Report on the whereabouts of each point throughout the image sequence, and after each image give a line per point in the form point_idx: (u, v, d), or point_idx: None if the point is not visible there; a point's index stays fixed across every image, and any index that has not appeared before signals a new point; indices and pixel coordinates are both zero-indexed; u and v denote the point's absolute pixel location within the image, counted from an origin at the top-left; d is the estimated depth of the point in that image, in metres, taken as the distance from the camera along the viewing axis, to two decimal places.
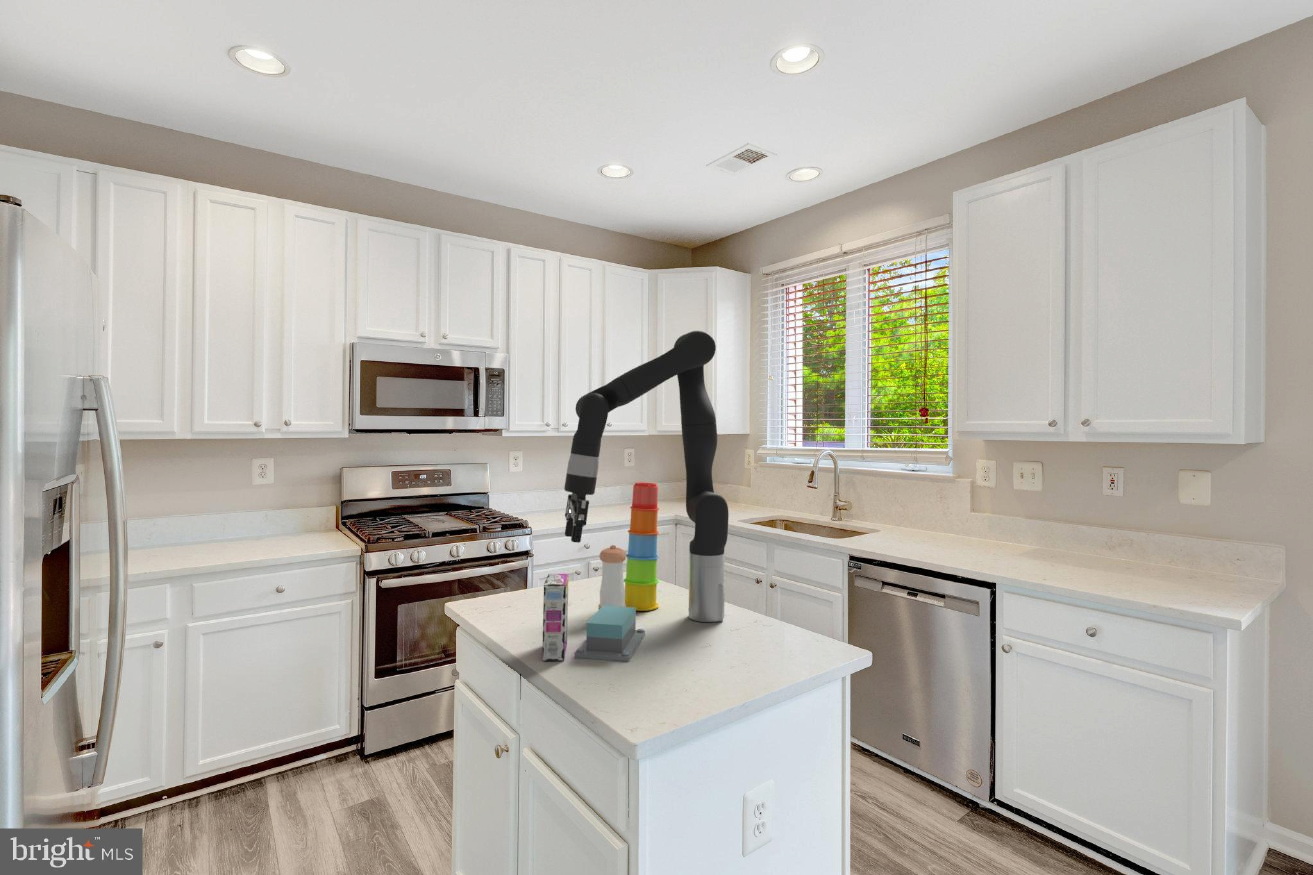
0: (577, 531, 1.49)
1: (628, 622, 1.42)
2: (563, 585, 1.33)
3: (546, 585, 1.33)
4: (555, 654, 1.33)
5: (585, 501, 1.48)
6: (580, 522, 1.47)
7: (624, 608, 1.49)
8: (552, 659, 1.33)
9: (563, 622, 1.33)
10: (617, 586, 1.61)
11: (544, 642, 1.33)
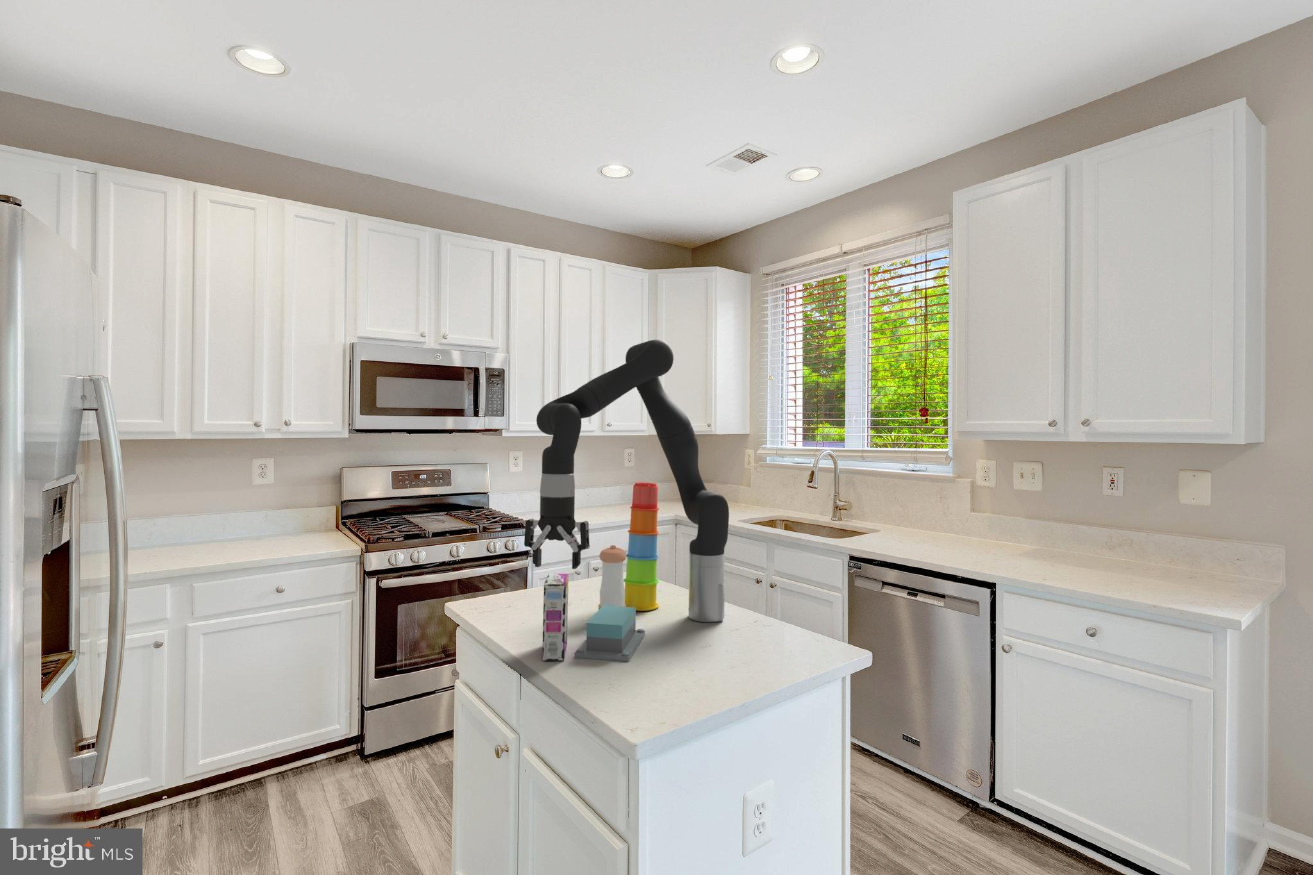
0: (579, 556, 1.37)
1: (628, 622, 1.42)
2: (563, 585, 1.33)
3: (546, 585, 1.33)
4: (555, 654, 1.33)
5: (586, 522, 1.37)
6: (587, 545, 1.37)
7: (624, 608, 1.49)
8: (552, 659, 1.33)
9: (563, 622, 1.33)
10: (617, 586, 1.61)
11: (544, 642, 1.33)
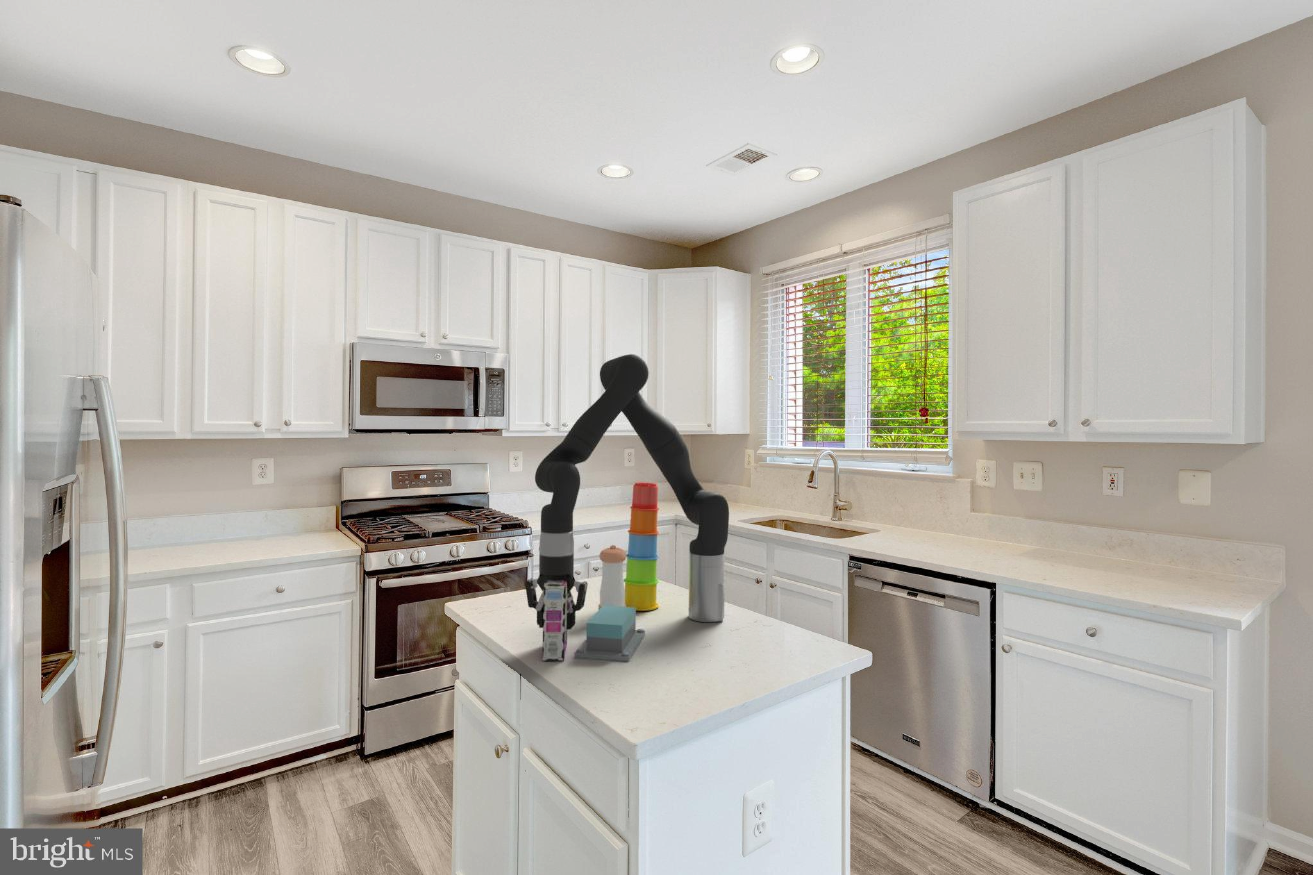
0: (574, 616, 1.37)
1: (628, 622, 1.42)
2: (563, 585, 1.33)
3: (546, 585, 1.33)
4: (555, 654, 1.33)
5: (586, 584, 1.37)
6: (582, 607, 1.37)
7: (624, 608, 1.49)
8: (552, 659, 1.33)
9: (563, 622, 1.33)
10: (617, 586, 1.61)
11: (544, 642, 1.33)
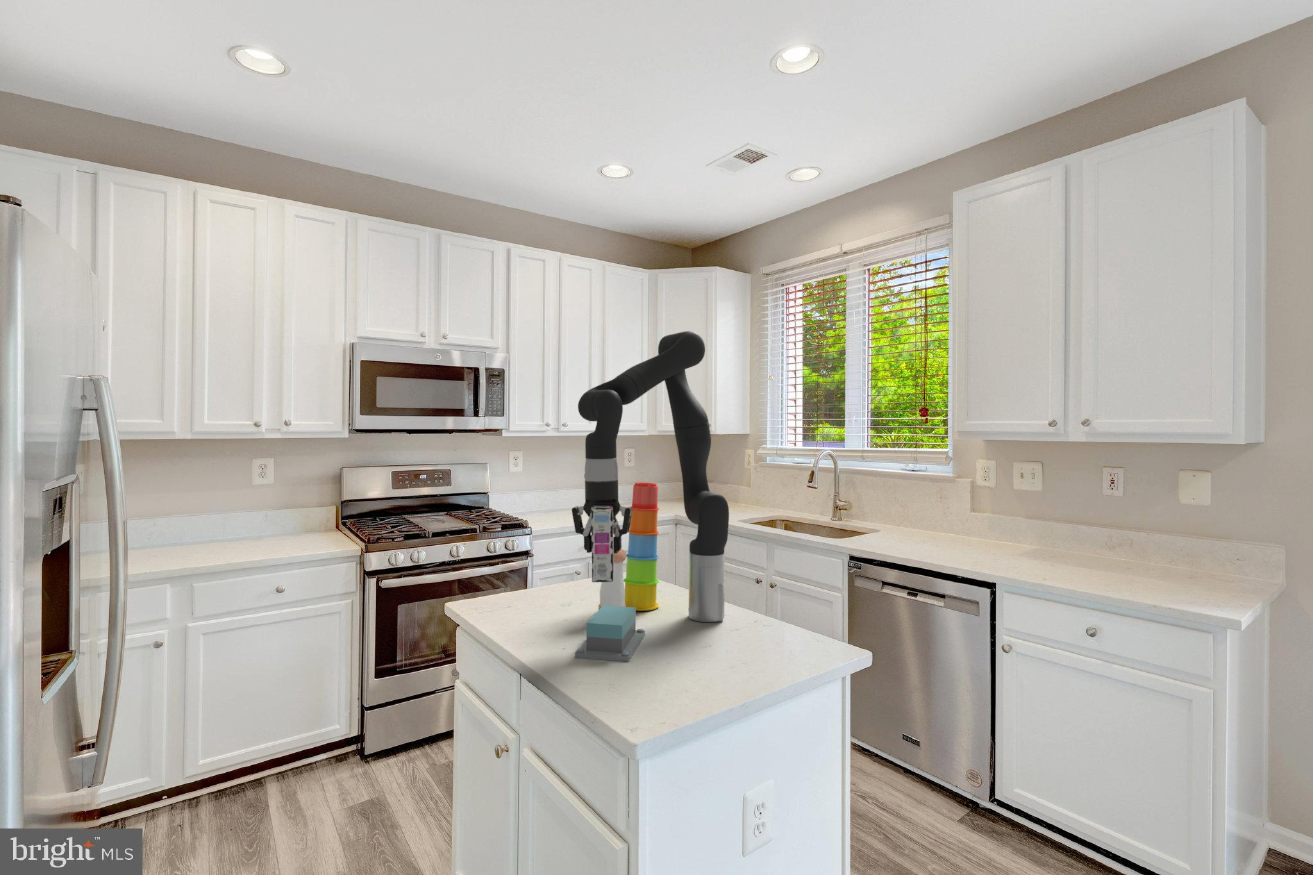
0: (620, 540, 1.41)
1: (628, 622, 1.42)
2: (610, 508, 1.37)
3: (593, 509, 1.37)
4: (604, 576, 1.37)
5: (631, 508, 1.41)
6: (627, 531, 1.41)
7: (624, 608, 1.49)
8: (601, 580, 1.37)
9: (611, 544, 1.37)
10: (617, 586, 1.61)
11: (593, 564, 1.37)
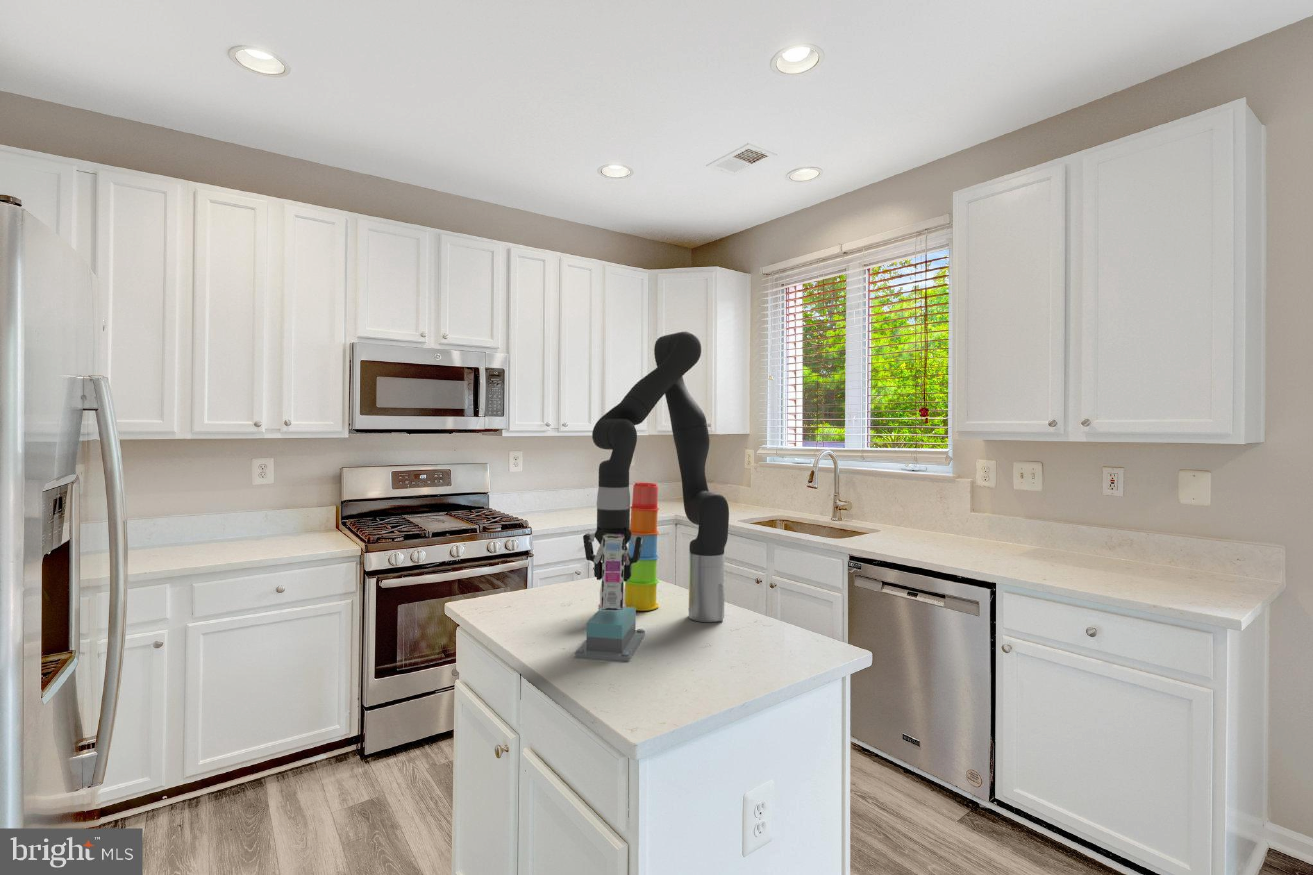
0: (630, 569, 1.42)
1: (628, 622, 1.42)
2: (622, 537, 1.38)
3: (605, 537, 1.38)
4: (614, 604, 1.38)
5: (642, 537, 1.42)
6: (638, 559, 1.42)
7: (624, 608, 1.49)
8: (611, 608, 1.38)
9: (622, 572, 1.38)
10: None
11: (603, 592, 1.38)
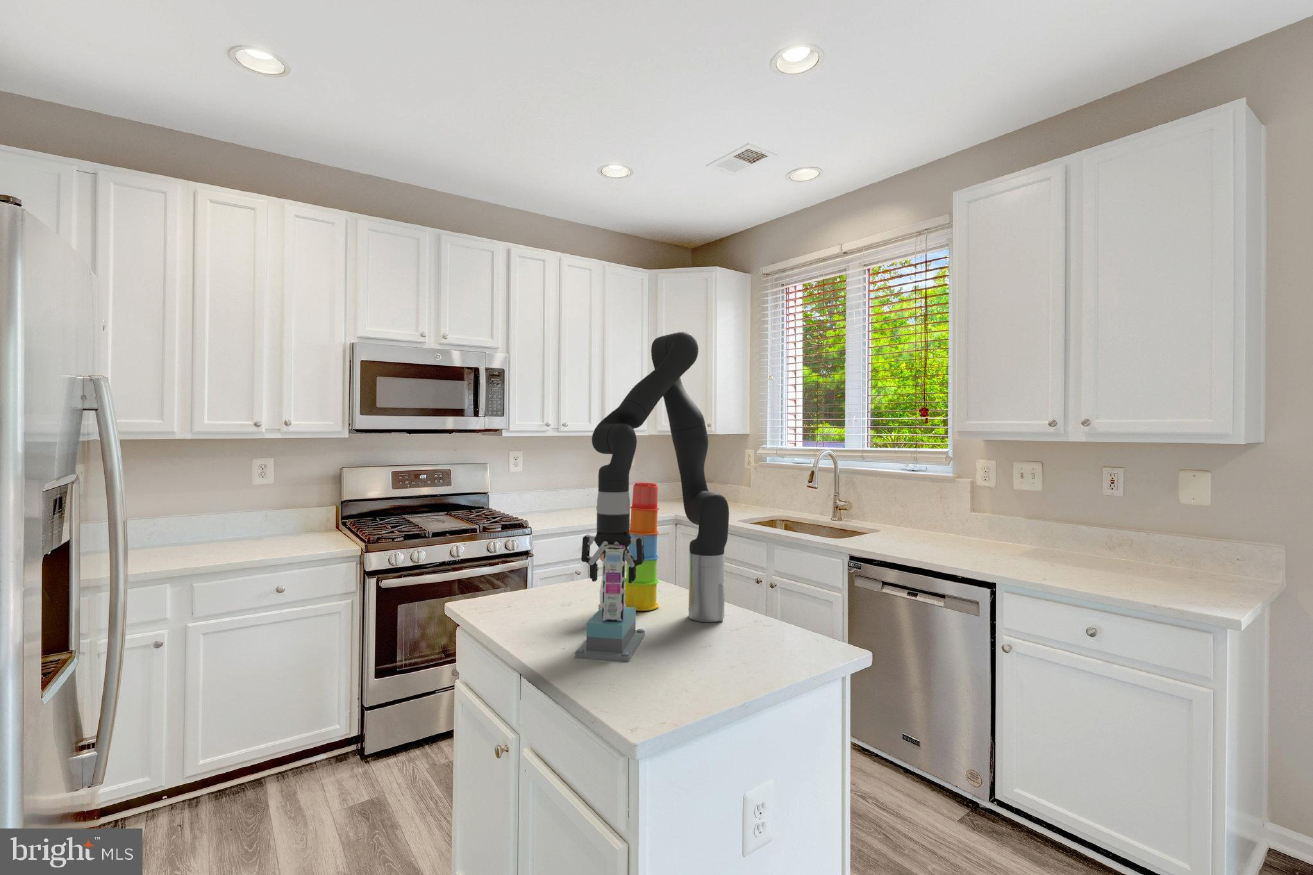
0: (635, 571, 1.42)
1: (628, 622, 1.42)
2: (622, 548, 1.38)
3: (606, 548, 1.38)
4: (614, 615, 1.38)
5: (642, 538, 1.42)
6: (643, 560, 1.42)
7: (624, 608, 1.49)
8: (611, 619, 1.38)
9: (622, 584, 1.38)
10: None
11: (604, 603, 1.38)
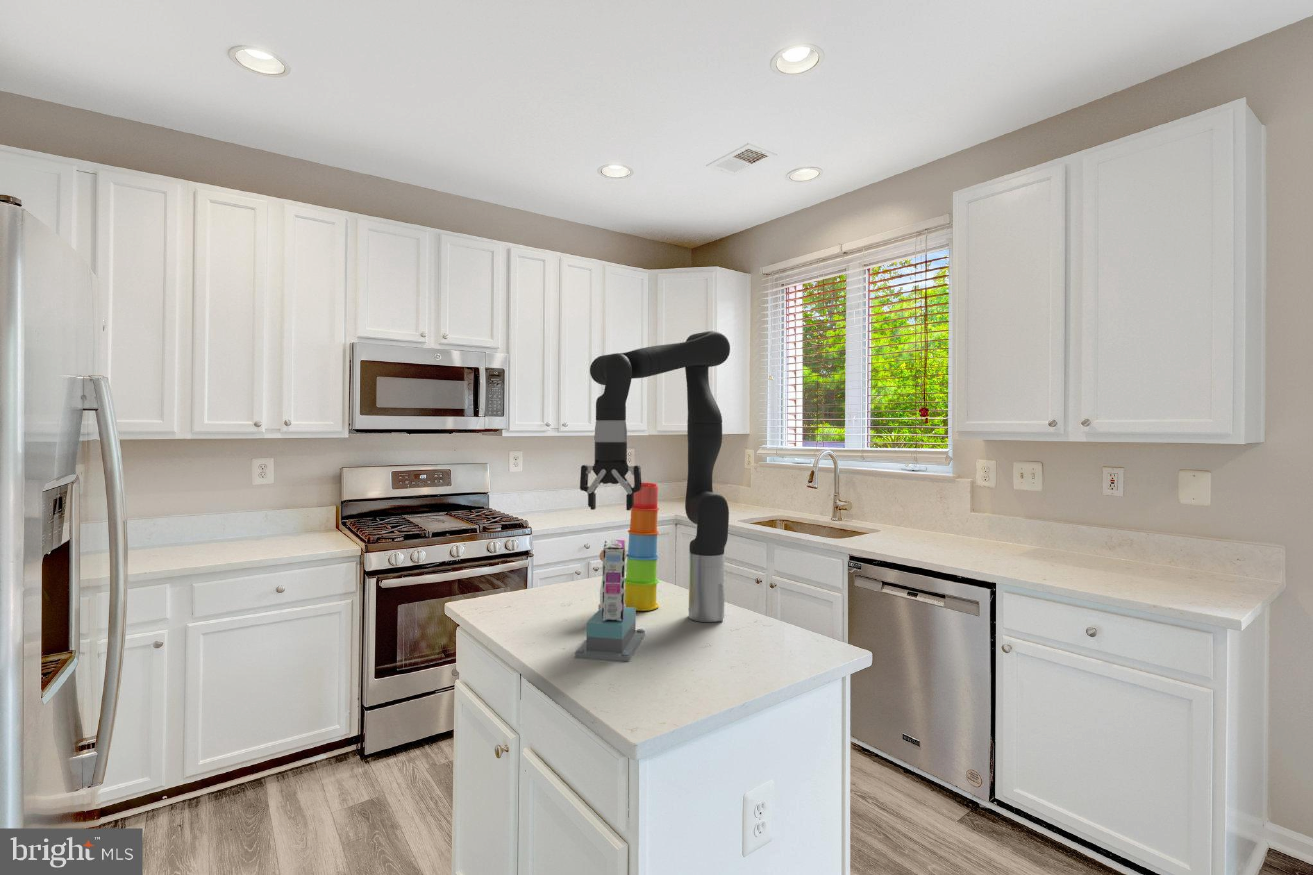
0: (632, 498, 1.45)
1: (628, 622, 1.42)
2: (622, 548, 1.38)
3: (606, 548, 1.38)
4: (614, 615, 1.38)
5: (639, 466, 1.45)
6: (640, 488, 1.45)
7: (624, 608, 1.49)
8: (611, 619, 1.38)
9: (622, 584, 1.38)
10: None
11: (604, 603, 1.38)
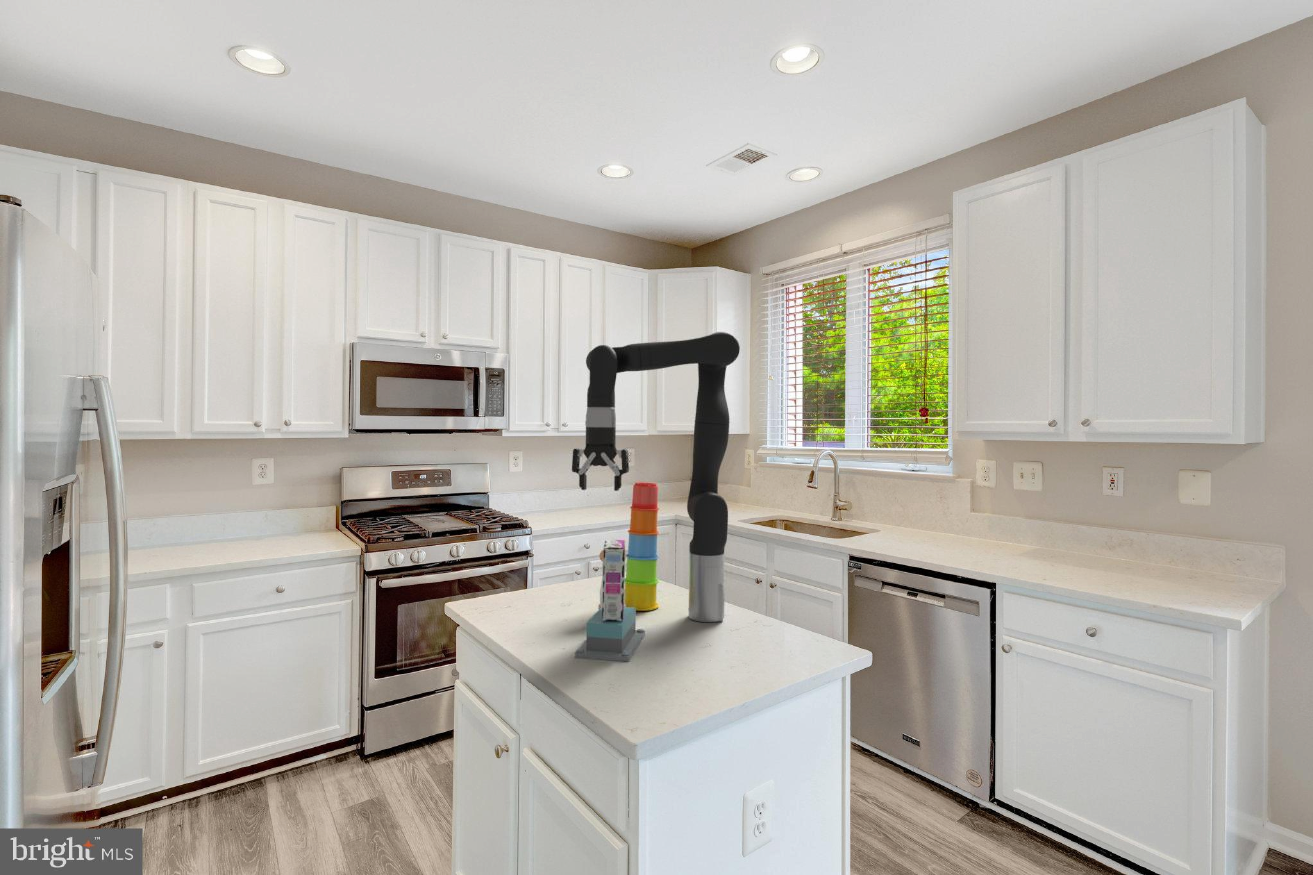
0: (620, 479, 1.57)
1: (628, 622, 1.42)
2: (622, 548, 1.38)
3: (606, 548, 1.38)
4: (614, 615, 1.38)
5: (626, 450, 1.57)
6: (627, 470, 1.57)
7: (624, 608, 1.49)
8: (611, 619, 1.38)
9: (622, 584, 1.38)
10: None
11: (604, 603, 1.38)
